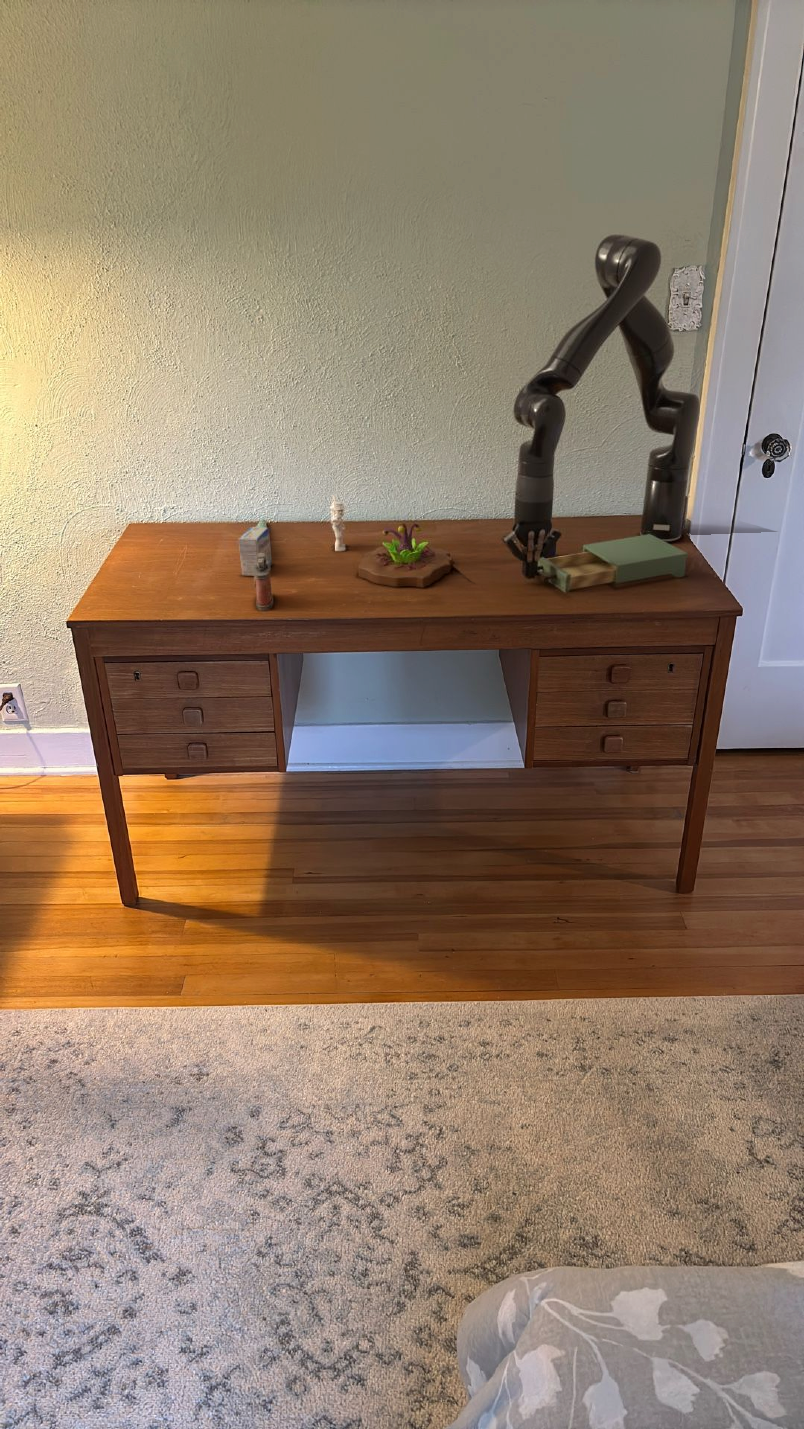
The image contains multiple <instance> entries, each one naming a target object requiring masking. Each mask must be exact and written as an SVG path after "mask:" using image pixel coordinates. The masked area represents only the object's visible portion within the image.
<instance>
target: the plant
mask: <svg viewBox="0 0 804 1429" xmlns="http://www.w3.org/2000/svg"><path fill="white" fill-rule="evenodd" d="M414 528H415V531H416V532H420V531H421V530H422V527H421V525H420V524H418V523H412V524H411V526H410V527H409V530H408V528H407V525H406V523H401V524H400V525H399V526H398V528H397V530H398V531H396V530H394V529H393V528H384V529H383V530H382V535H383V536H384V537H385V536H386V537H387V536H388V535H389V533H392V534H393V535H394V536H395V537H396V538H398V540H396V539H394V538H393V539H392V543H390V542H387V541H382V545H383V546H378V547H376V549H375V550H372V551H369V552H366V553H365V554H364V556H363V557H362V559H361V560H360V562H359V564H358V570H357V571H358V577H359V578H360V579H365V580H367V581H369V582H371V583H373V584H375V585H380V586H388V587H393V588H402V587H413V588H422V589H423V588H425V587H428V586H431V585H432V584H433V583H435V582H436V581H438V580H440V579H441V578H442V577H443V576H444V575H446V574H450V573H451V570H452V569H453V565H452V564H453V558H452V557H451V553H450V552H449V551H447V550H445V549H441V548H437V547H436V548H435V547H431V546H427V545H428V544H429V541H423V542H421V543H419V544H416V539H415V538H414V537H412V536H413V531H414ZM401 534H402V535H401Z"/></svg>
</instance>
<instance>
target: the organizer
mask: <svg viewBox="0 0 804 1429" xmlns="http://www.w3.org/2000/svg"><path fill="white" fill-rule="evenodd" d="M589 551H590V552H592V553H593V554H595V555H597V556H598V557H600V558H602V559H604V560H605V561H607V562H609V563H610V564H612V565H614V566H615V567H616V577H615V582H614V583H615V584H621V583H626V582H631V581H638V580H642V579H647V578H654V577H660V576H664V575H665V576H666V575H672V576H673V577H675V578H682V577H683V578H684V577H685V575H686V567H687V559H688V553H687V552H685V550H682V549H680V548H678V547H676V546H675V545H672V544H670V543H666V542H664V541H662V540H660V539H659V538H657V537H655V536H653V535H651V534H648V535H641V536H640V535H636V536H629V537H624V538H617V539H612V540H605V541H600V542H593V543H587V544H583V546H582V553H583V552H589Z"/></svg>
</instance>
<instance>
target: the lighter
mask: <svg viewBox="0 0 804 1429" xmlns="http://www.w3.org/2000/svg"><path fill="white" fill-rule="evenodd" d="M253 571H254V576H253V579H254V580H253V582H254V588H255V592H256V598H255V600H256V607H257V609H258V610H259V611H268V610H271V608H272V607H273V605H274V596H273V592H272V584H271V565H270V564H269V562H267V560H266V559H265V555H264V553H259V554H258V555H257V563H256V564H255V565H254V568H253Z"/></svg>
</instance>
